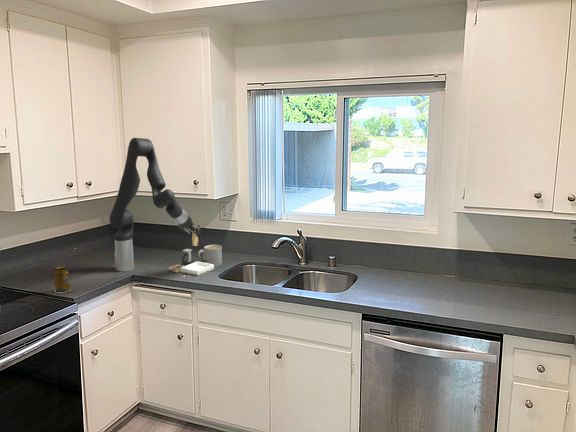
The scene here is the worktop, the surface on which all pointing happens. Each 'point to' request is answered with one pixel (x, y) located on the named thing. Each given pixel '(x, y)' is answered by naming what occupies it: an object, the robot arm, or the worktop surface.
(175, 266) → the stop block
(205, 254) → the coffee mug
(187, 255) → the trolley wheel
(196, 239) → the pin
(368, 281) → the worktop surface
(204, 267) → the tray
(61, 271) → the condiment
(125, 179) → the robot arm
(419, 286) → the worktop surface
